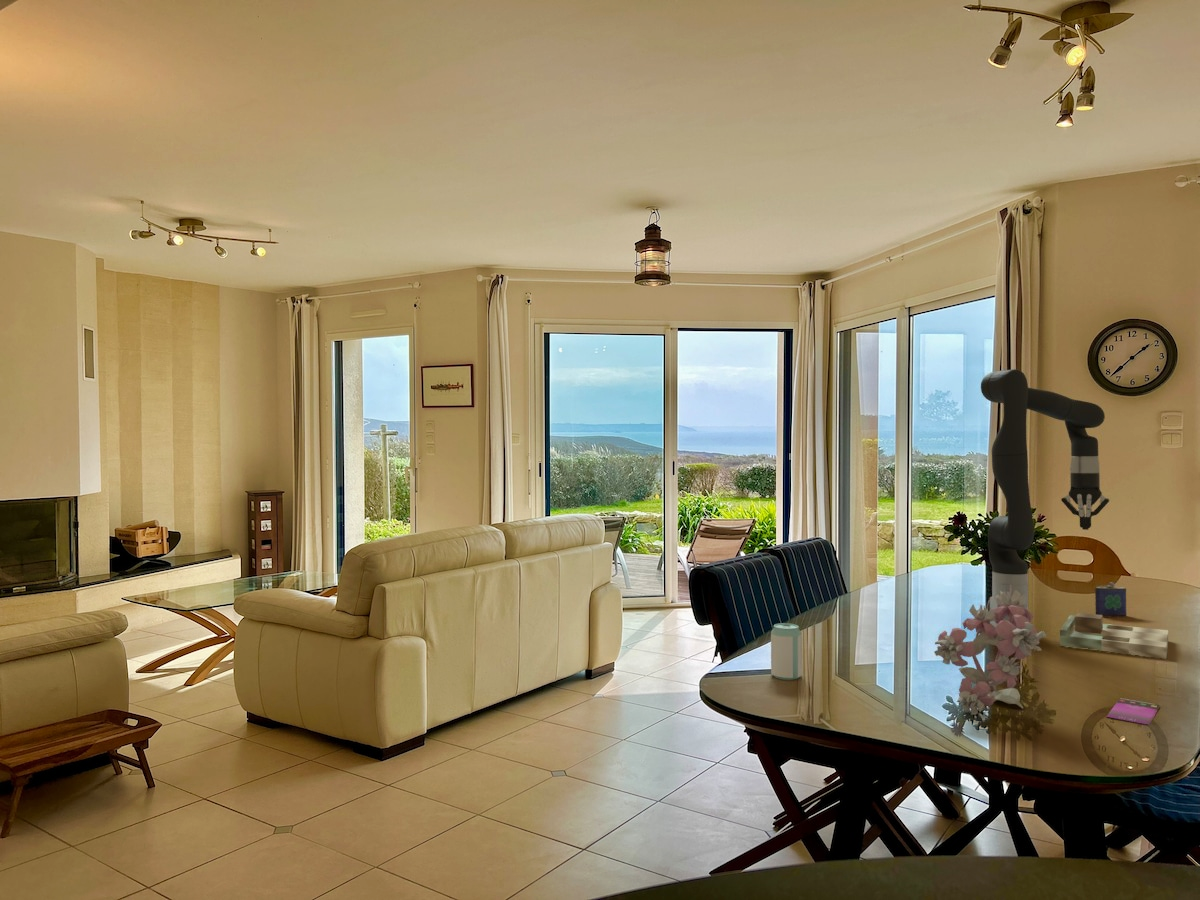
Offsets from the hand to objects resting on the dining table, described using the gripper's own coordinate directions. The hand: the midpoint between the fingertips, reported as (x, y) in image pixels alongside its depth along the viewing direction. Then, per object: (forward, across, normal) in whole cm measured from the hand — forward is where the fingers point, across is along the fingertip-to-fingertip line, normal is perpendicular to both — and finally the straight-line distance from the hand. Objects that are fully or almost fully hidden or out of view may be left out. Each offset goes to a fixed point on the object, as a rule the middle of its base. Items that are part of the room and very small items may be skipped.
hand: (1085, 529), depth 250 cm
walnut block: (+25, -3, +24) cm, 35 cm away
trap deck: (+28, -9, +23) cm, 38 cm away
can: (+28, +50, +103) cm, 118 cm away
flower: (+28, +7, +102) cm, 106 cm away
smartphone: (+28, -18, +87) cm, 93 cm away
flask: (+29, -5, -18) cm, 35 cm away
